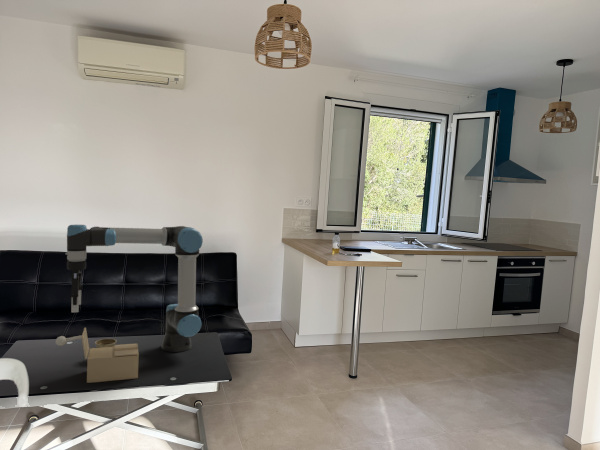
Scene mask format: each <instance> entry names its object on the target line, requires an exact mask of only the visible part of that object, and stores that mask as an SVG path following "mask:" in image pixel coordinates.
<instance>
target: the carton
mask: <svg viewBox="0 0 600 450" xmlns="http://www.w3.org/2000/svg"><path fill="white" fill-rule="evenodd" d="M139 357H140V355H139V345H138V343H126V344H115V347H104V348H97V347H92V348H91V347H89V352H88V356H87V359H86V360H87V361H86V362H87V367H86V369H87V370H86V384H87V383H89V384H90V383H101V382H109V381H110V382H113V381H121V380H131V379H138V378H139Z"/></svg>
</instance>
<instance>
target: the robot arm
mask: <svg viewBox="0 0 600 450" xmlns="http://www.w3.org/2000/svg"><path fill="white" fill-rule="evenodd" d="M66 229H67V232H66V252H65V256H66V259H67V261H66V269H67V270H69V271H72V273H71V274H70V278H71V283H70V284H71V290H70V292H71V293H70V294H69V298H70V299H71V300H70V301H71V307H70V308H71V309H70V310H71V311H70V312H71V313H79V312H80V311H79V310H80V309H79V308H80V305H82V290H84V287H83V286H82V276H83V273H82V271H83V270H86V269H87V247H109V246H115V244H144V245H145V244H147V245H148V244H150V245H151V244H152V245H155V244H157V245H161V246H167V247H173V248H175V249H174V254H175V256H176V257H177V259H178V261H177V262H178V263H177V265H178V266H177V275H178V276H177V280H178V281H177V303H173V304H171V303H170V304H169V305H166V310H165V334H164V336H163V339H162V342H161V349H162V350H163V351H165V352H172V353H178V352H184V351H188V350H190V349H191V348H192V340H191V337H193V336H195V335H197V334H198V332H199V331H200V330H201V328H202V320H201V317H200V316H199V307H198V306H197V304H196V298H197V297H196V295H197V294H196V293H197V292H196V289H197V286H196V285H197V258H198V257H199V255H200V249H201V247H202V245H203V236H202V234H201V232H200V231H198V230H197V229H195V228H194V227H191V226H185V225H180V226H163V227H162V228H143V227H142V228H139V227H135V228H134V227H105V226H101V227H100V226H92V227H90V228H89V229H88V228H87V225H86V224H69V225H68V226H67V228H66Z"/></svg>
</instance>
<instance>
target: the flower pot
mask: <svg viewBox="0 0 600 450" xmlns="http://www.w3.org/2000/svg"><path fill="white" fill-rule="evenodd" d="M117 341H118V340H117V339H115V338H102V339H97V340H96V341H95V342H94V344H95V347H96V348H104V347H115V345H117V344H116V343H117Z"/></svg>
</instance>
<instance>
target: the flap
mask: <svg viewBox="0 0 600 450" xmlns="http://www.w3.org/2000/svg"><path fill="white" fill-rule="evenodd" d="M79 339H81V341H82V348H83V349H82V350H83V355H84V359H85V360H88V355H89V351H90V344H89V340H88V339H89V338H88V333H87V327H84V328H83V332H82V335H77V336H71V337H65V336H63V335H61V336H57V338H56V339H55V345H57V346H60V347H62V346H65V344H66V343H67V342H70V341H74V340H79Z"/></svg>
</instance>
